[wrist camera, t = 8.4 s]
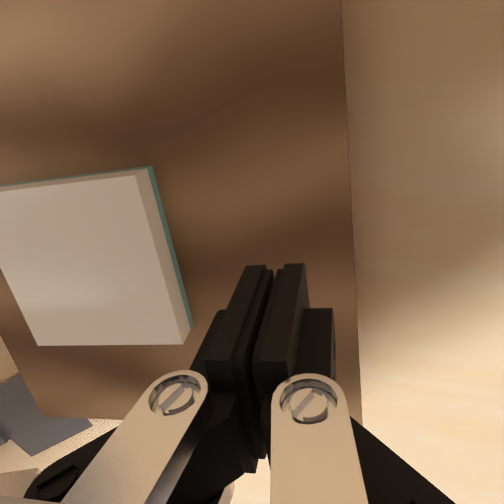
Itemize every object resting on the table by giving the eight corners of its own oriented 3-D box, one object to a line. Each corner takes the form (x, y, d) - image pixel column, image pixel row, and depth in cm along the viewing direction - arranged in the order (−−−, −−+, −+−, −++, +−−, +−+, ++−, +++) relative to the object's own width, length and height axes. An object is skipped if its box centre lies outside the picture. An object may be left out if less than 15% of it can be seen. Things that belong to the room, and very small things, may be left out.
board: (-121, 34, 17) (-159, 31, 16) (334, -85, 12) (335, -103, 11) (57, 398, 26) (43, 416, 25) (360, 407, 21) (362, 429, 20)
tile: (152, 165, 16) (-6, 185, 18) (134, 175, 14) (-34, 196, 16) (193, 323, 19) (57, 326, 21) (182, 344, 18) (37, 345, 19)
